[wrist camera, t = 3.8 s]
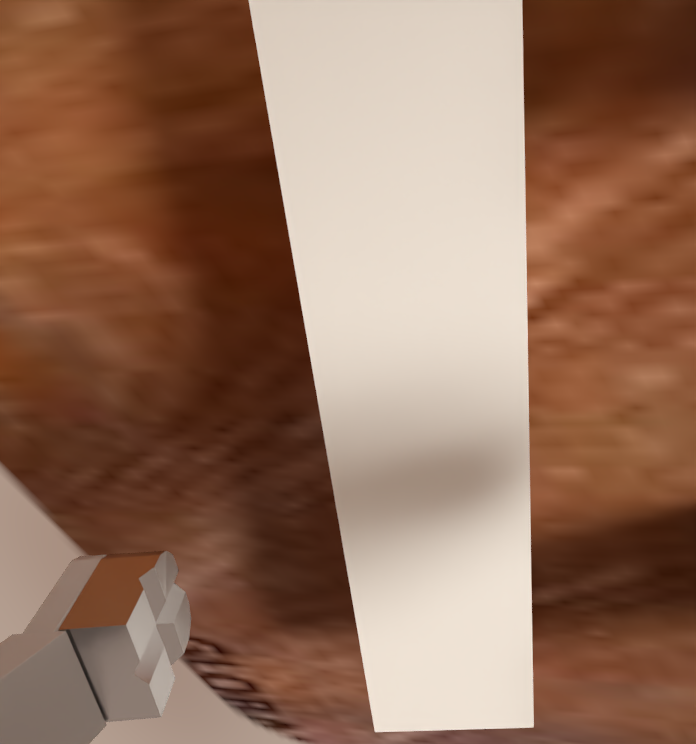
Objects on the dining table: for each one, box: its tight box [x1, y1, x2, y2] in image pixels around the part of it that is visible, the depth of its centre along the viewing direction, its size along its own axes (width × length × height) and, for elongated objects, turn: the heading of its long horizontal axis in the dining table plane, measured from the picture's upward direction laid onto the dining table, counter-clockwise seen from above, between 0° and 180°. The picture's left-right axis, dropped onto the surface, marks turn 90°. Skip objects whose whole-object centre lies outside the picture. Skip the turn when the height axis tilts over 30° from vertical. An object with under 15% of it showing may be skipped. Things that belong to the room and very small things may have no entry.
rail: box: [248, 0, 534, 732], centre depth 14 cm, size 18×4×4 cm, turn 8°
